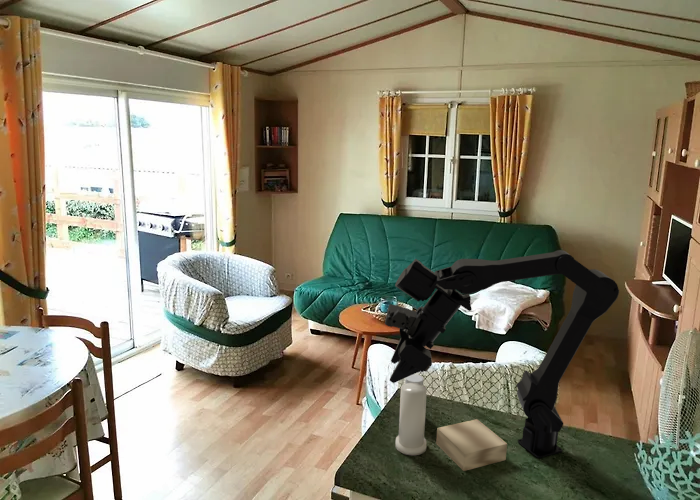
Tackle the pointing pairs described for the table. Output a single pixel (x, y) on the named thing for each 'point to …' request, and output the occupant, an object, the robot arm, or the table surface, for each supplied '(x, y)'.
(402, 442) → the white flanged cylinder
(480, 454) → the oak box
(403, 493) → the table surface
